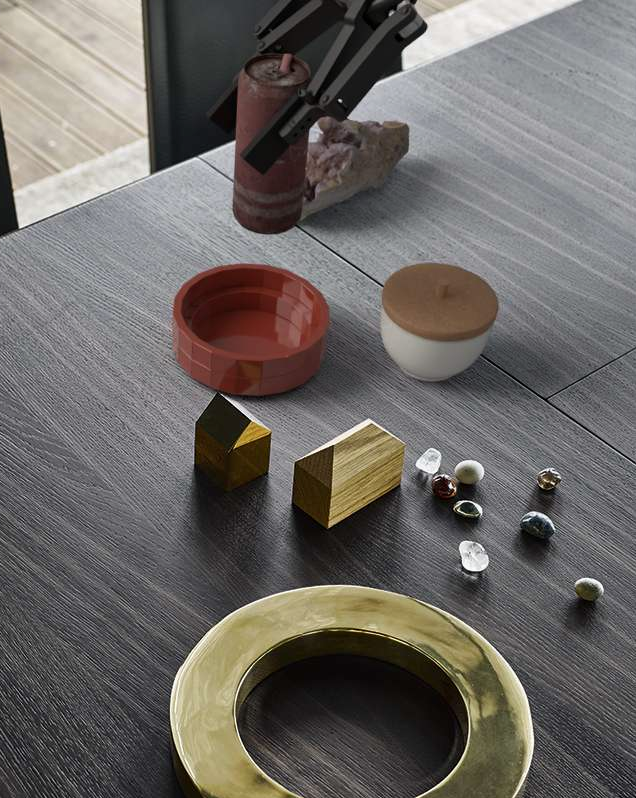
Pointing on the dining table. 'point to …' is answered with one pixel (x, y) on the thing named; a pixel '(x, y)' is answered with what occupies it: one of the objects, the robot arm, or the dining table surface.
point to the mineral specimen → (350, 160)
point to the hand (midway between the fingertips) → (234, 144)
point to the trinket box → (436, 319)
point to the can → (284, 182)
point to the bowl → (250, 329)
